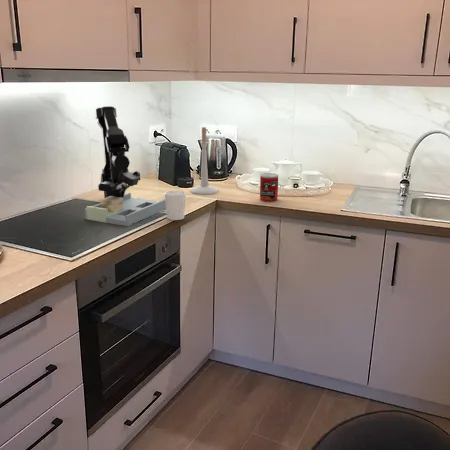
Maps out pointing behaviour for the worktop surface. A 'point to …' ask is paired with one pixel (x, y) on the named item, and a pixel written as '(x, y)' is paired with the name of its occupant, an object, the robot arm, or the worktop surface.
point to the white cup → (175, 204)
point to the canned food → (269, 187)
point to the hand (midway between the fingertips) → (120, 203)
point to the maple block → (112, 203)
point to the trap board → (125, 211)
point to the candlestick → (204, 172)
